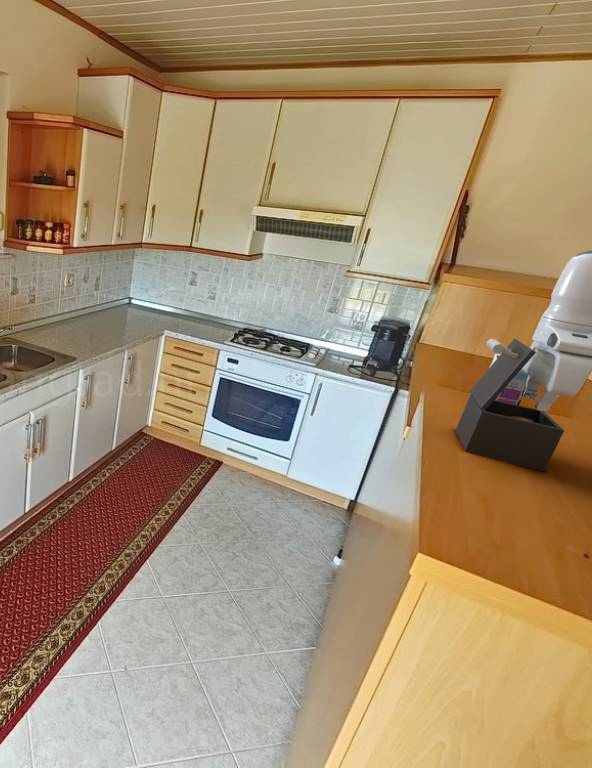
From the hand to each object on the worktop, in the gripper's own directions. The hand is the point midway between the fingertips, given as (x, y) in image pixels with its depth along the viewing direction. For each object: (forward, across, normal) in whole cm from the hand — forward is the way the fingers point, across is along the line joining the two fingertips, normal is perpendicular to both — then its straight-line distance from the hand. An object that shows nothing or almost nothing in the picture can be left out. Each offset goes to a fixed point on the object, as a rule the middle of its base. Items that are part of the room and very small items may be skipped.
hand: (534, 403), depth 97 cm
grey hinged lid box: (+11, 0, -2) cm, 11 cm away
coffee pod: (+9, 0, 0) cm, 9 cm away
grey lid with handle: (-4, 0, -7) cm, 8 cm away
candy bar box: (+11, -16, -2) cm, 20 cm away
